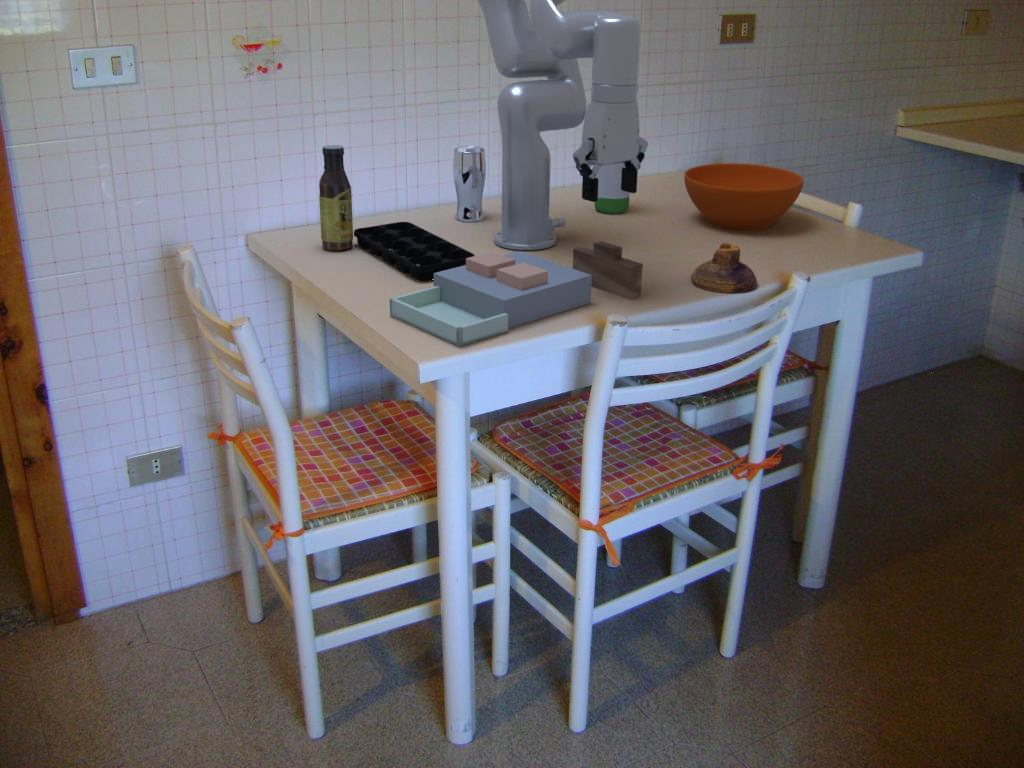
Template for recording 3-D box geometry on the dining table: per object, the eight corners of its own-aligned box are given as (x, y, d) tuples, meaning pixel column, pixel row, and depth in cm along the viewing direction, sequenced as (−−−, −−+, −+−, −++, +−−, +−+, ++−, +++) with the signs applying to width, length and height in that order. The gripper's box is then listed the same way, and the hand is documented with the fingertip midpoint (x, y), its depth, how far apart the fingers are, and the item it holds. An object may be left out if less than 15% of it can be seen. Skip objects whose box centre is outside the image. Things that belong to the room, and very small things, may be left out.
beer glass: (491, 217, 233) (492, 148, 226) (473, 224, 227) (473, 154, 221) (465, 212, 236) (465, 144, 230) (447, 219, 231) (446, 150, 224)
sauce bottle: (347, 253, 207) (342, 151, 199) (317, 251, 208) (310, 149, 200) (358, 244, 213) (353, 144, 205) (328, 241, 214) (323, 142, 206)
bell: (736, 299, 186) (741, 259, 183) (678, 284, 193) (681, 245, 190) (768, 283, 194) (773, 245, 191) (711, 269, 201) (715, 232, 198)
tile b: (523, 273, 181) (523, 262, 180) (547, 282, 177) (547, 271, 176) (496, 281, 177) (496, 269, 176) (521, 290, 173) (521, 278, 172)
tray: (437, 302, 182) (437, 285, 181) (507, 331, 170) (508, 314, 169) (390, 315, 176) (389, 298, 175) (459, 347, 164) (459, 328, 162)
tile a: (492, 262, 186) (492, 251, 185) (515, 271, 182) (515, 259, 181) (465, 269, 183) (465, 258, 182) (488, 278, 179) (488, 266, 178)
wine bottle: (619, 216, 234) (626, 76, 222) (587, 211, 238) (593, 73, 226) (634, 209, 240) (642, 72, 228) (604, 204, 244) (610, 69, 232)
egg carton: (428, 289, 190) (428, 269, 188) (329, 252, 209) (328, 233, 208) (499, 268, 201) (499, 249, 200) (399, 235, 221) (398, 217, 219)
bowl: (822, 226, 229) (828, 180, 225) (739, 244, 216) (744, 195, 212) (738, 201, 248) (742, 158, 244) (657, 216, 235) (660, 171, 231)
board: (519, 277, 195) (520, 251, 193) (590, 302, 183) (591, 275, 181) (434, 301, 183) (433, 273, 181) (503, 330, 170) (503, 300, 168)
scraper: (583, 277, 196) (585, 235, 193) (640, 296, 187) (643, 252, 183) (572, 280, 194) (573, 238, 191) (629, 300, 185) (631, 255, 182)
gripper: (632, 87, 185) (627, 185, 191) (560, 96, 174) (558, 199, 181) (665, 92, 179) (659, 192, 186) (593, 102, 169) (589, 208, 176)
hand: (609, 195), depth 184 cm, fingers open, 9 cm apart
